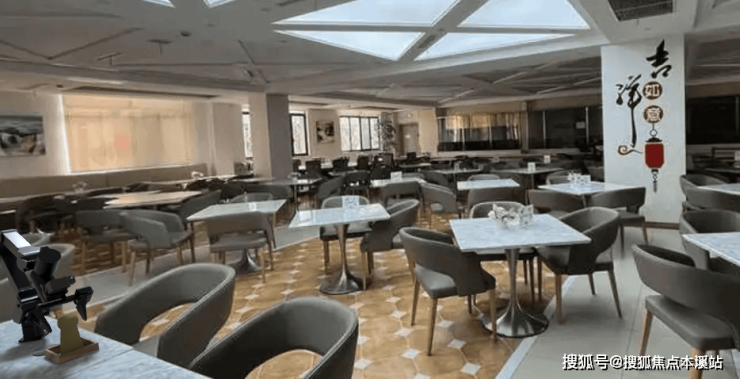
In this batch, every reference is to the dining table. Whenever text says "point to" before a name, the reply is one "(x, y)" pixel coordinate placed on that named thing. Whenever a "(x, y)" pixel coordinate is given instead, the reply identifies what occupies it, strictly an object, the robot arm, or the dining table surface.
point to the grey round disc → (42, 350)
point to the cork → (69, 334)
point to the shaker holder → (69, 356)
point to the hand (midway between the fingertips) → (69, 326)
